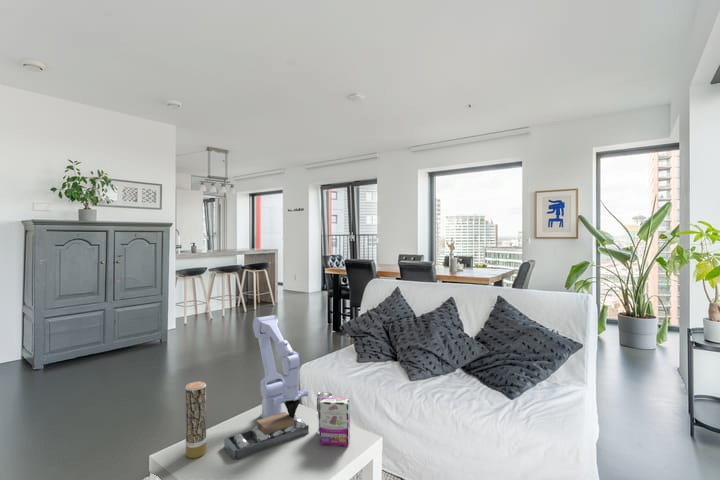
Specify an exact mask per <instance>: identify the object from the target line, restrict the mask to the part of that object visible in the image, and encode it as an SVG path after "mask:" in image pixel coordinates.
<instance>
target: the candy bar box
mask: <svg viewBox="0 0 720 480" xmlns="http://www.w3.org/2000/svg"><path fill="white" fill-rule="evenodd" d="M350 401H351V400H350V398H347V397H346V398H345V397H344V398H343V397H333V398H324V397H322V399H321V401H320V403H319V405H320V406H319V408H320V435H319V445H320V446H329V447H330V446H332V447H349V444H350V442H351V417H350V415H351V405H350Z"/></svg>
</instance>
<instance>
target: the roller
mask: <svg viewBox="0 0 720 480" xmlns="http://www.w3.org/2000/svg"><path fill="white" fill-rule="evenodd" d="M236 434H237V435H236ZM236 434H234V435H235V436H234V438H233V444H234V445H235V447H236V448H237V449H241V448H244V447H247V446H249V445H251V444H250V443H249V442H248V441H247V440H246V439H245V438H244V437H243V436H242V435H241V434H239V433H236Z"/></svg>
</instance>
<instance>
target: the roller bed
mask: <svg viewBox="0 0 720 480" xmlns="http://www.w3.org/2000/svg"><path fill="white" fill-rule="evenodd" d="M293 419H294V420H295V425H293V426H290V427H287V428H284V429H281V430H278V431H275V432H272V433H270V434H267V435H266V434H265V433H264V432H263V431H262V430H261V429H260V428H259V427H258V426H257V425H255V426H254V427H253V428H251V429H248V430H244V431H242V432H238V433H235V434H233V435H229V436H227V437H226V438H224V439H223V447H224V449H225V451H226V452H227V454H228V455H229V456H230V457H231V459H232V460H240V459H243V458H245V457H247V456H251V455H253V454H256V453H259V452H261V451H264V450H268V449H270V448H272V447H275V446H277V445H281V444H283V443H286V442H288V441H291V440H293V439H296V438H299V437H302V436H304V435H307V434H309V433H310V432H309V427H310V426H309V425H308V424H306V423H305V422H304V421H303V420H301V419H300V418H299V417H298V416H296V414H295V416H294V418H293ZM237 434H241V435H242V436H243V437H244V438H245V439H246V441H247V440H250V439H252V438H254V440H255V441H257V442H255V443H251V444H250V445H249V446H247V447H244V448H241V449H237V448H236V447H235V445H234V444H233V438H234V436H235V435H237Z"/></svg>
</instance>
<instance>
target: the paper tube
mask: <svg viewBox="0 0 720 480" xmlns="http://www.w3.org/2000/svg"><path fill="white" fill-rule="evenodd" d="M206 451H207V382H204V381H194V382H190V383H187V384H186V386H185V455H186V457H187V458H189V459H197V458H200V457H202V456H204V455H205V453H206Z"/></svg>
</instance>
